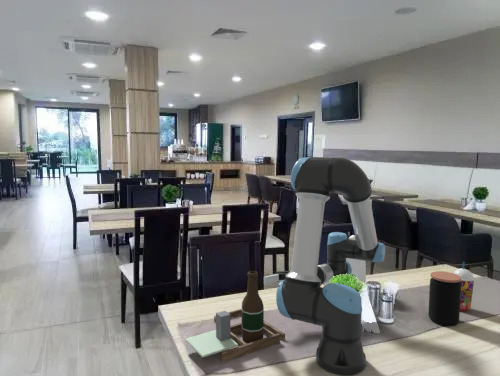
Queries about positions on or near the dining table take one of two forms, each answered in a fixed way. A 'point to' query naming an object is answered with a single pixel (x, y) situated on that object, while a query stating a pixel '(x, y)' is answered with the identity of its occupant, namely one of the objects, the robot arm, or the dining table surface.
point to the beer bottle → (252, 311)
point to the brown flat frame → (243, 348)
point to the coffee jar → (444, 298)
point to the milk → (357, 266)
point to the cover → (214, 337)
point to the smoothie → (465, 288)
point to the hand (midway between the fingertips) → (274, 285)
